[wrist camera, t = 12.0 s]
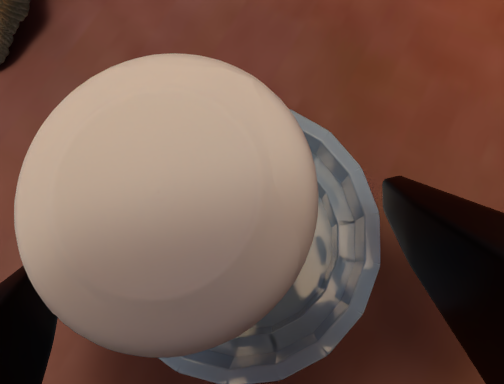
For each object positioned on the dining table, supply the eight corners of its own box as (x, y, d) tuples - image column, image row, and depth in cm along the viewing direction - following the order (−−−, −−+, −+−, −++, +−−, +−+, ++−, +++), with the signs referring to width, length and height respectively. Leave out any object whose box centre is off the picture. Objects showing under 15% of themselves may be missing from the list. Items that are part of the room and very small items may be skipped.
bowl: (387, 180, 19) (420, 154, 14) (308, 397, 17) (318, 443, 13) (195, 109, 20) (172, 66, 16) (105, 299, 19) (52, 310, 14)
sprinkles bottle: (186, 266, 18) (-65, 271, 5) (225, 185, 19) (95, 0, 6) (269, 307, 17) (233, 436, 4) (307, 221, 18) (375, 105, 5)
